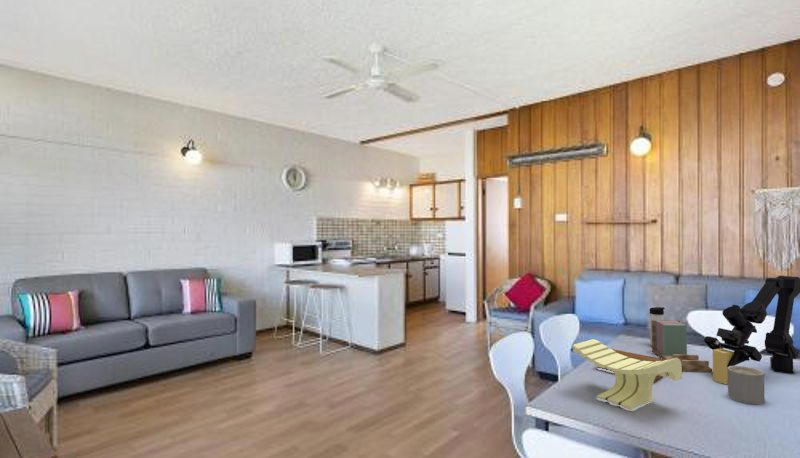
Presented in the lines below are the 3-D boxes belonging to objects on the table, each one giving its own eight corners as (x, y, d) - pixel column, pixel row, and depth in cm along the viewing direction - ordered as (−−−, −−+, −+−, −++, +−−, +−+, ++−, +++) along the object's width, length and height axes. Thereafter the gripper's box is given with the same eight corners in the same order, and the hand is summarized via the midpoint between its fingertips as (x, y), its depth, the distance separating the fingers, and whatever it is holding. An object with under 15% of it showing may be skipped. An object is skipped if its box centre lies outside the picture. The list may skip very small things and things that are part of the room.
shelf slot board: (679, 352, 204) (678, 320, 204) (712, 372, 176) (711, 335, 176) (652, 352, 206) (651, 320, 206) (680, 371, 178) (679, 334, 178)
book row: (677, 350, 202) (676, 320, 202) (687, 356, 193) (686, 325, 193) (656, 349, 204) (656, 320, 204) (665, 355, 195) (664, 325, 195)
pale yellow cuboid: (721, 378, 169) (720, 348, 169) (734, 383, 164) (734, 352, 164) (713, 380, 168) (712, 349, 168) (726, 384, 163) (725, 353, 163)
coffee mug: (759, 406, 143) (758, 377, 143) (723, 397, 151) (723, 369, 151) (771, 396, 151) (770, 368, 151) (737, 388, 159) (736, 361, 159)
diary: (670, 373, 178) (670, 359, 178) (654, 385, 166) (654, 370, 166) (613, 360, 196) (613, 348, 195) (595, 370, 183) (595, 357, 183)
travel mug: (664, 349, 210) (663, 308, 210) (649, 347, 214) (648, 307, 214) (666, 346, 215) (665, 306, 215) (651, 344, 219) (650, 305, 218)
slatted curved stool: (682, 408, 143) (681, 355, 143) (658, 421, 134) (657, 365, 134) (598, 382, 168) (597, 337, 168) (574, 392, 159) (572, 344, 159)
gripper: (706, 316, 176) (686, 345, 173) (756, 326, 158) (735, 359, 155) (720, 333, 178) (701, 362, 175) (770, 344, 161) (751, 377, 157)
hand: (720, 365), depth 165 cm, fingers closed on pale yellow cuboid, 5 cm apart
